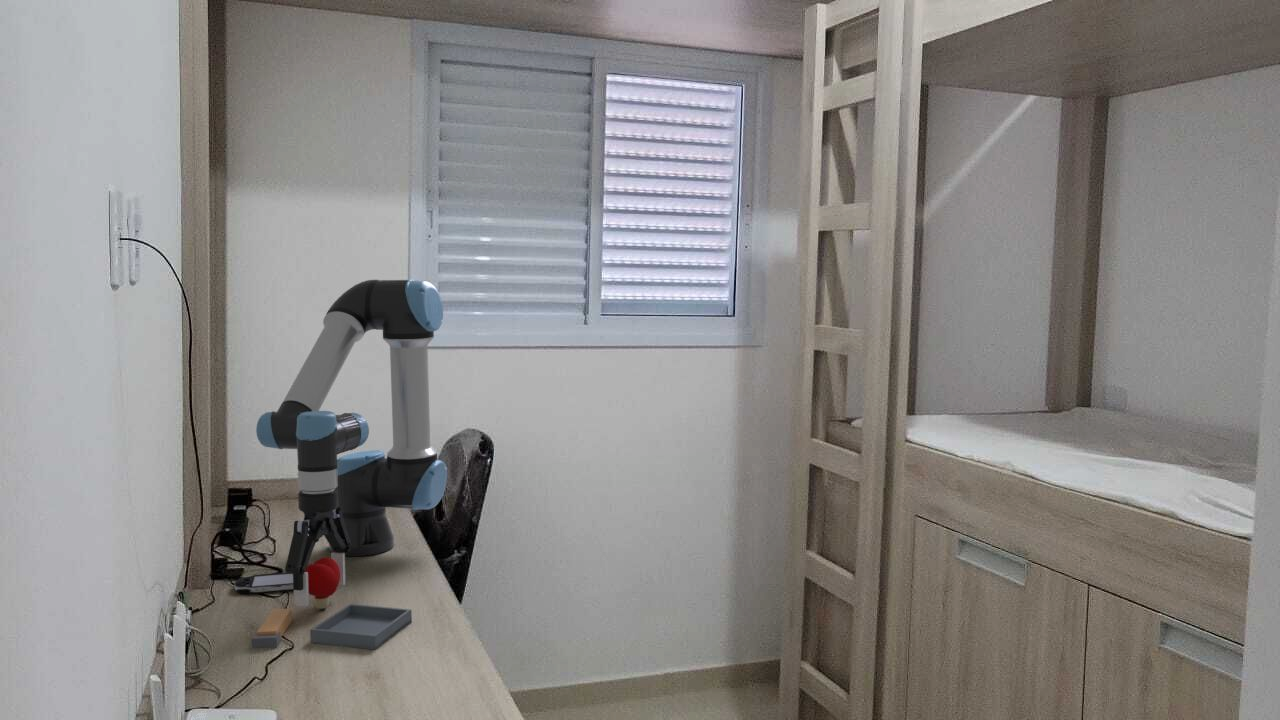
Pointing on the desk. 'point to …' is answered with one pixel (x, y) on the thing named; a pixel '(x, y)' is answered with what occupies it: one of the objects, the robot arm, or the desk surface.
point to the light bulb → (323, 580)
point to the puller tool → (272, 629)
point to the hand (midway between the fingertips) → (320, 594)
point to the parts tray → (361, 626)
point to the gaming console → (265, 583)
